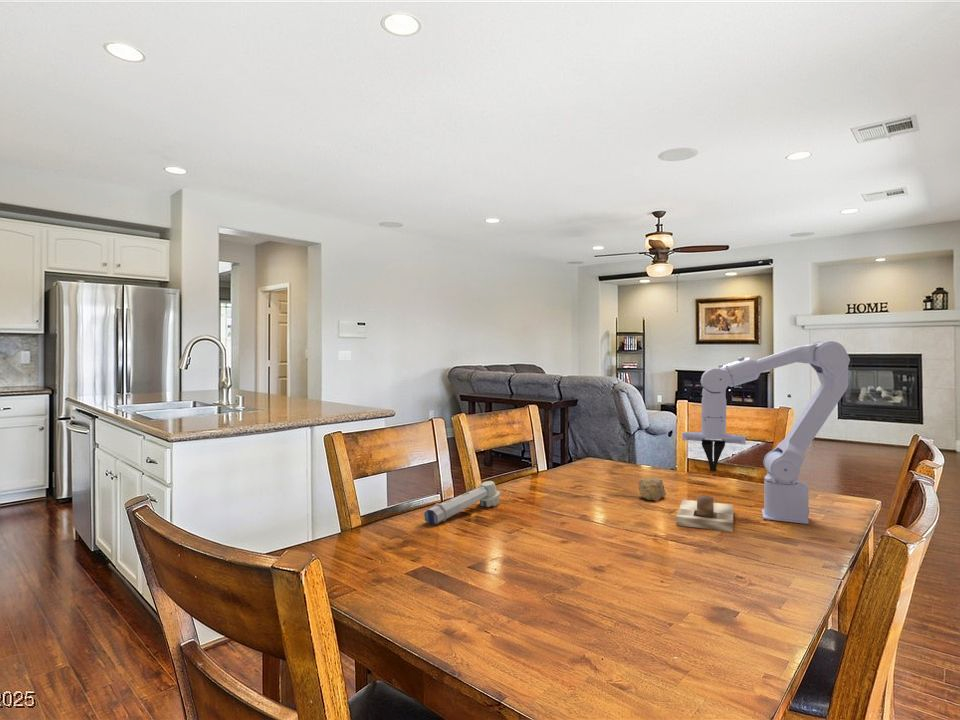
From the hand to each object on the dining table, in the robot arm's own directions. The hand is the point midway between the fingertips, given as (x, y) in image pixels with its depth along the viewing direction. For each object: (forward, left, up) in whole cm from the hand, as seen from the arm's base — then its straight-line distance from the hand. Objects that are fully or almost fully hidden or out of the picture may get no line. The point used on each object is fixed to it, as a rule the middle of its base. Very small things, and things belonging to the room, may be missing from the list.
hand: (713, 470), depth 140 cm
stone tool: (+16, -10, -11) cm, 21 cm away
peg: (+1, +10, -10) cm, 14 cm away
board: (+1, +6, -10) cm, 12 cm away
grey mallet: (+57, +26, -11) cm, 63 cm away
